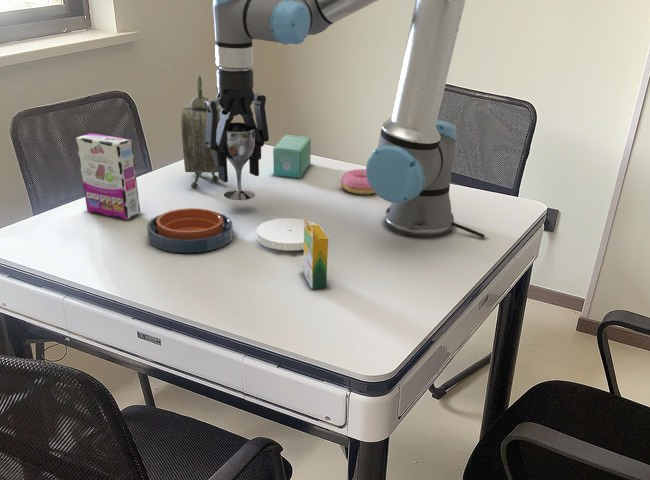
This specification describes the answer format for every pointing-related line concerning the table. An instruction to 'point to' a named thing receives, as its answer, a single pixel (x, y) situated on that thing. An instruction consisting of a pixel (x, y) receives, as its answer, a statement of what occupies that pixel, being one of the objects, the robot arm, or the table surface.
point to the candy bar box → (108, 175)
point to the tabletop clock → (197, 138)
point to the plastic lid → (282, 234)
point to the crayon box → (315, 255)
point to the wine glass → (239, 155)
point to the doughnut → (356, 182)
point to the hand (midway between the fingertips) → (238, 177)
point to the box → (291, 156)
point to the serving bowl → (190, 244)
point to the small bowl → (189, 224)
